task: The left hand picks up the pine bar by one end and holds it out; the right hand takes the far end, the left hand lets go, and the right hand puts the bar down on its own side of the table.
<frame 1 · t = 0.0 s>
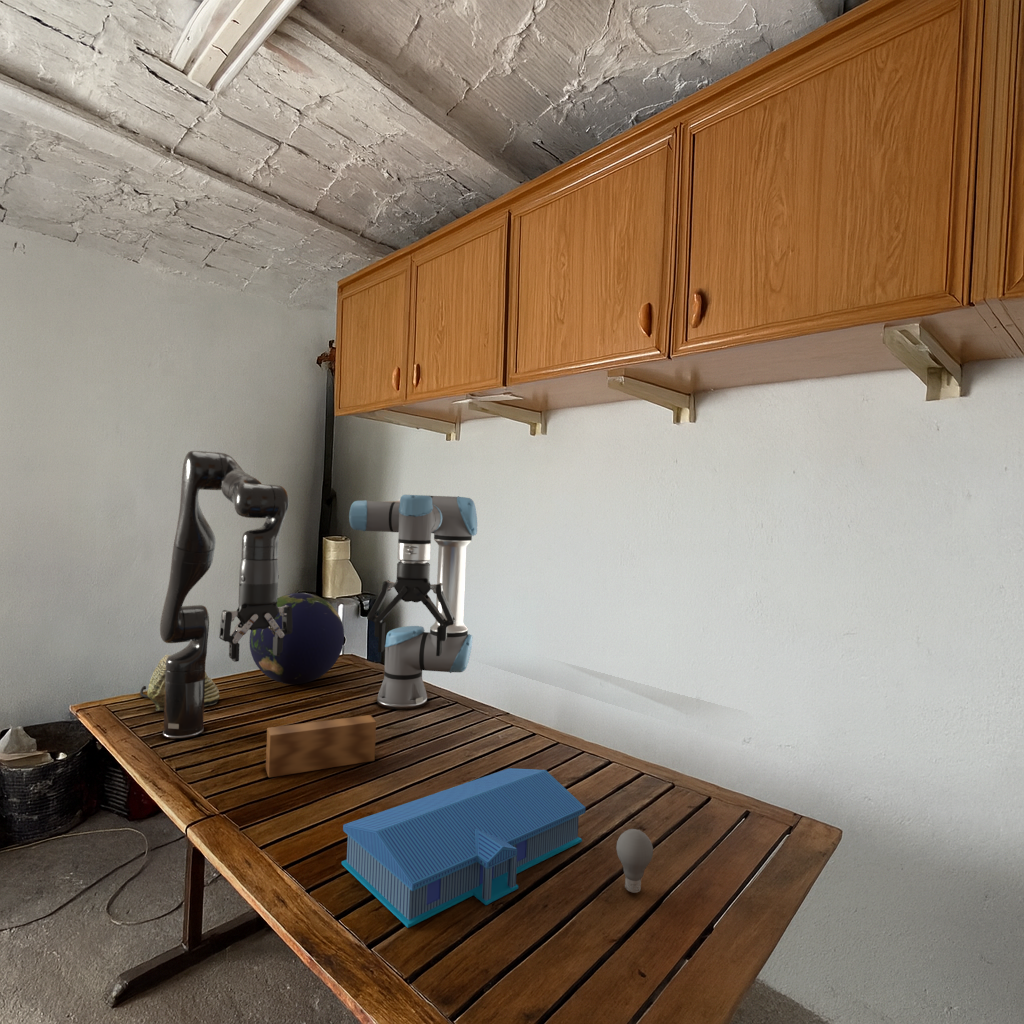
left hand: (256, 657, 132), 29 cm above the table, tool pointing down, fingers open, 8 cm apart
right hand: (409, 653, 147), 28 cm above the table, tool pointing down, fingers open, 13 cm apart
model building: (472, 856, 114), on the table
bar: (321, 764, 149), on the table
fossil: (183, 706, 185), on the table
globe: (296, 683, 212), on the table
light bulb: (632, 891, 106), on the table
anatomical model: (332, 737, 167), on the table
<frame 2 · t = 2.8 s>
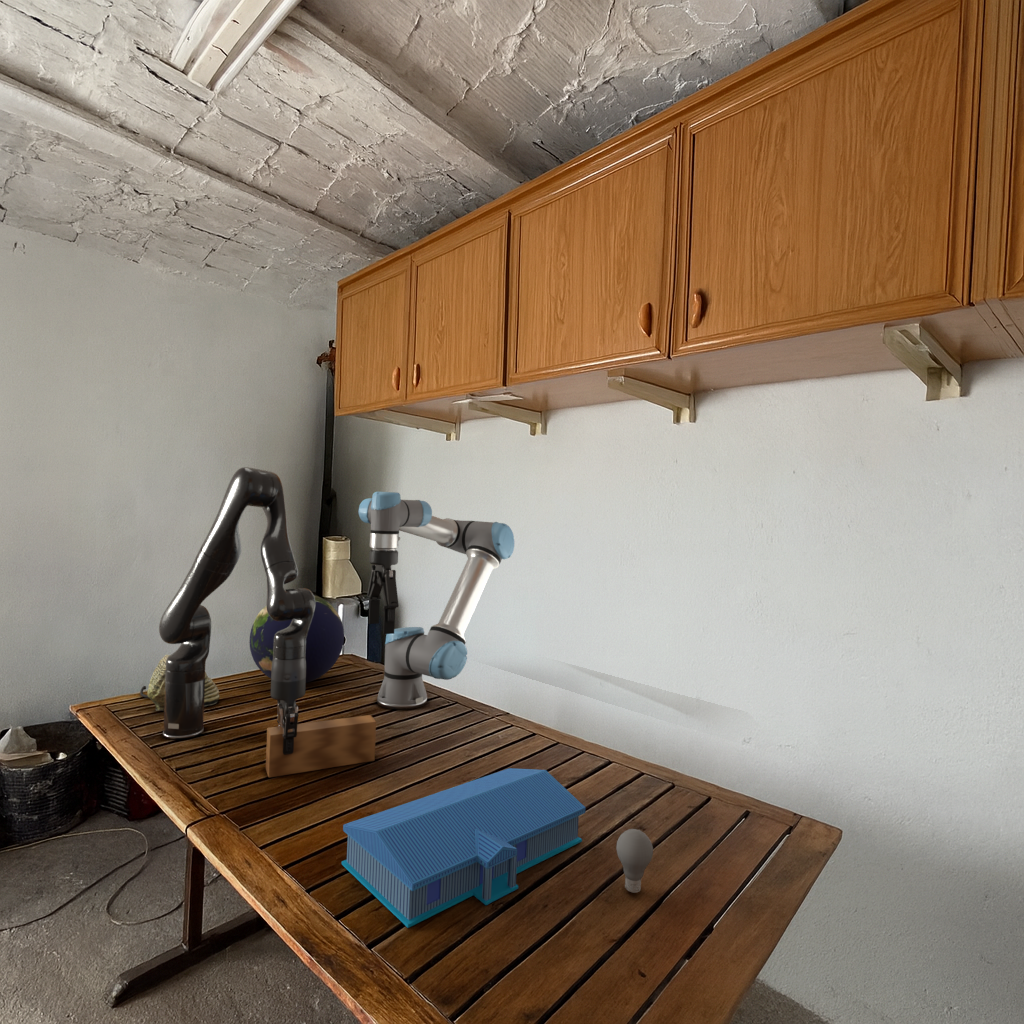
left hand: (285, 748, 146), 5 cm above the table, tool pointing down, fingers closed on bar, 5 cm apart
right hand: (380, 628, 170), 28 cm above the table, tool pointing down, fingers open, 13 cm apart
bar: (321, 764, 149), on the table, touching left hand
everything else where it was.
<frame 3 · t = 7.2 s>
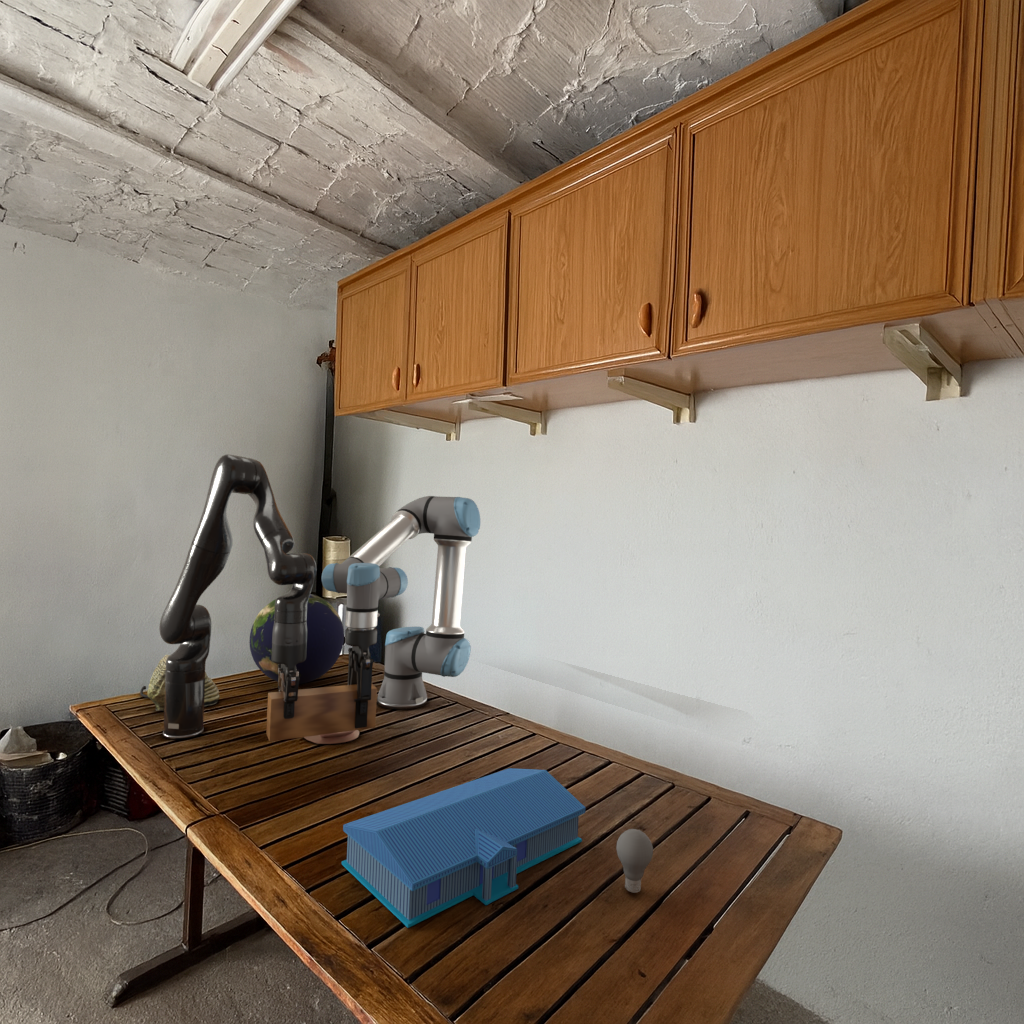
left hand: (286, 713, 145), 13 cm above the table, tool pointing down, fingers closed on bar, 5 cm apart
right hand: (357, 723, 153), 9 cm above the table, tool pointing down, fingers closed on bar, 5 cm apart
bar: (322, 730, 149), point 8 cm above the table, touching left hand, right hand
everything else where it was.
when the left hand's fingers open (13 cm above the table, at t = 8.1 s): bar stays where it is, held by the right hand.
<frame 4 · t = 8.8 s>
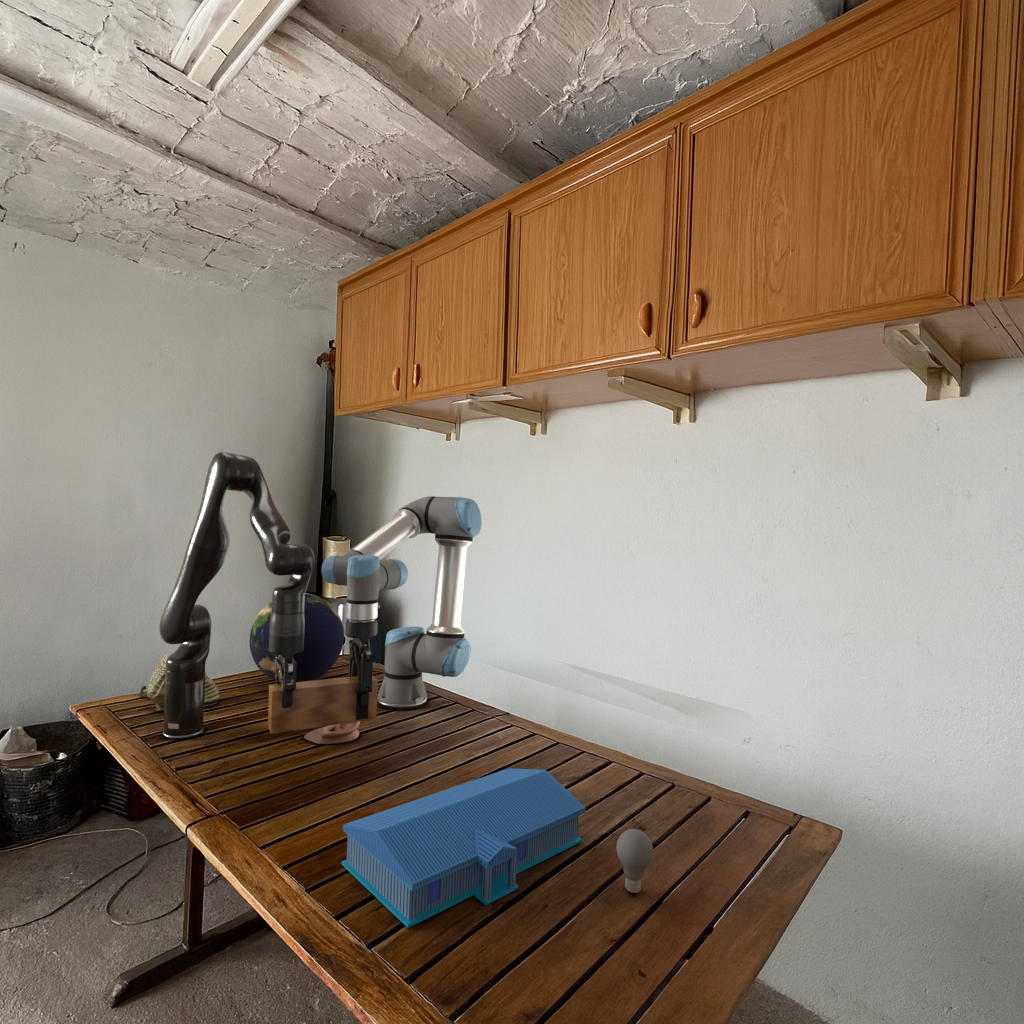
left hand: (283, 701, 145), 16 cm above the table, tool pointing down, fingers open, 8 cm apart
right hand: (358, 714, 154), 11 cm above the table, tool pointing down, fingers closed on bar, 5 cm apart
bar: (323, 722, 150), point 10 cm above the table, touching right hand
everything else where it was.
when the right hand's fingers open (2 cm above the table, at t = 14.1 s): bar drops 1 cm, on the table.
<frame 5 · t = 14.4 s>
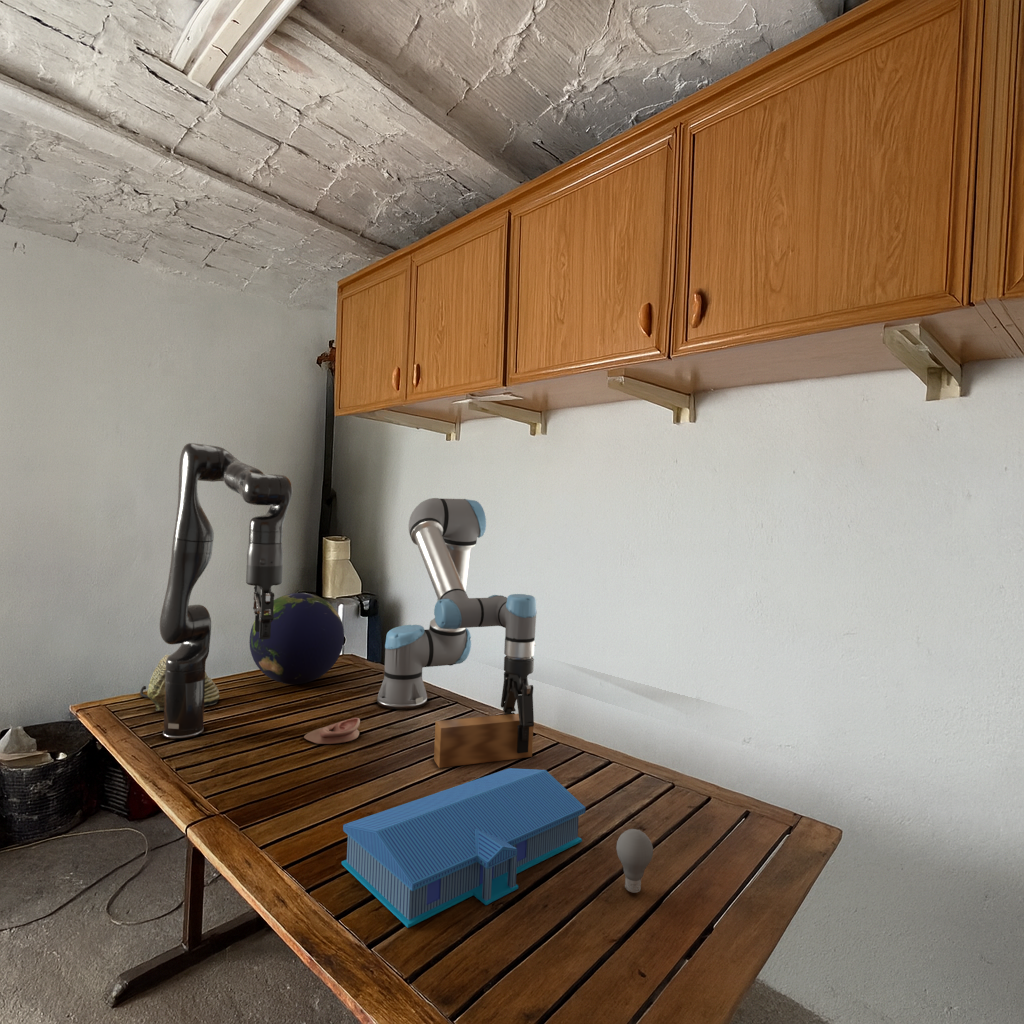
left hand: (262, 635, 142), 32 cm above the table, tool pointing down, fingers open, 8 cm apart
right hand: (515, 744, 160), 3 cm above the table, tool pointing down, fingers open, 9 cm apart
bar: (483, 758, 157), on the table
everything else where it was.
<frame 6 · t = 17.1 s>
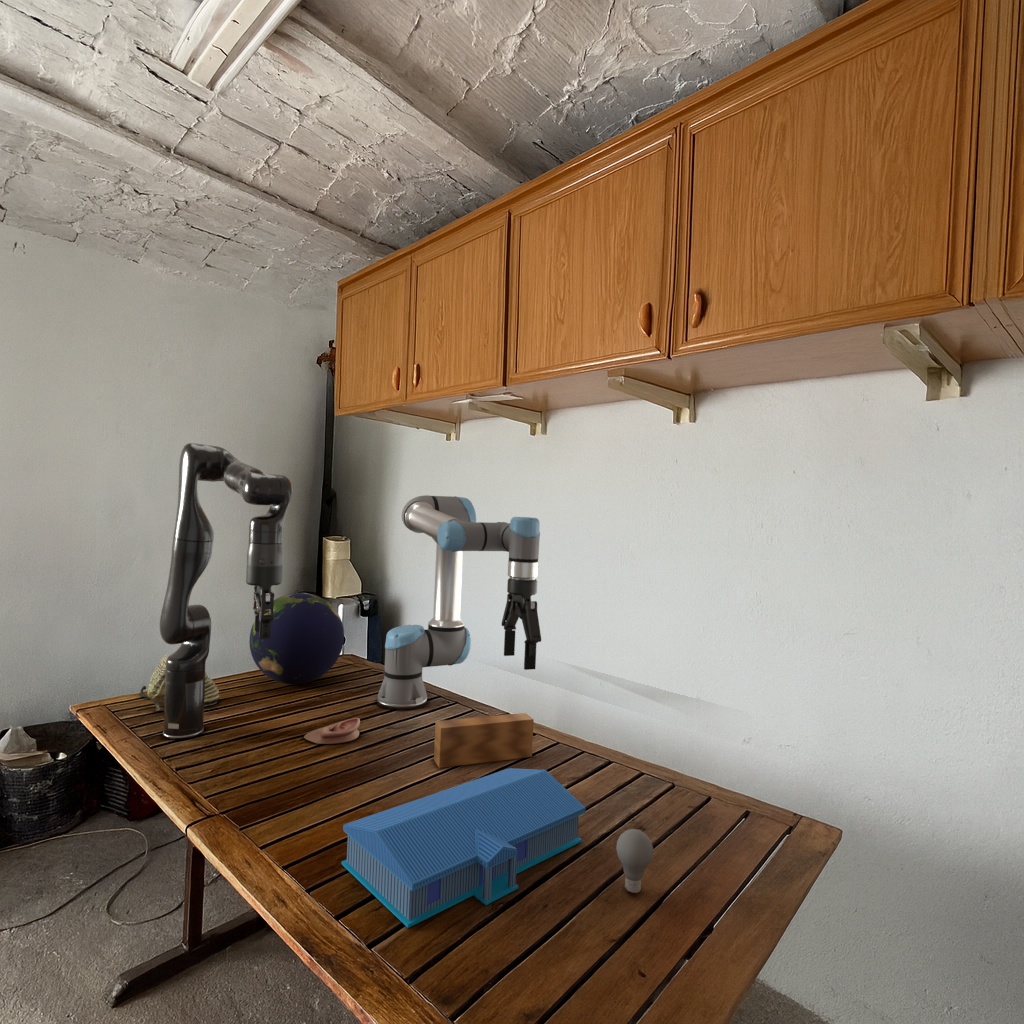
left hand: (262, 635, 142), 32 cm above the table, tool pointing down, fingers open, 8 cm apart
right hand: (518, 662, 160), 24 cm above the table, tool pointing down, fingers open, 13 cm apart
nothing on the table moved.
at the end: bar inside the target area (8.2 cm from its centre), on the table; the left hand is holding nothing; the right hand is holding nothing; bar at rest at the end (0.0 cm/s) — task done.
